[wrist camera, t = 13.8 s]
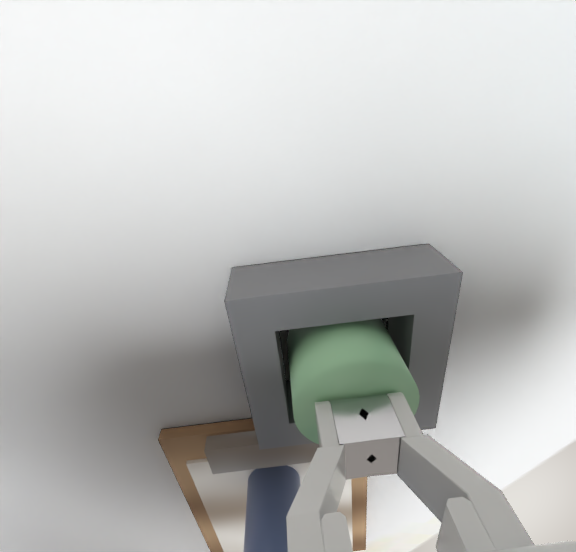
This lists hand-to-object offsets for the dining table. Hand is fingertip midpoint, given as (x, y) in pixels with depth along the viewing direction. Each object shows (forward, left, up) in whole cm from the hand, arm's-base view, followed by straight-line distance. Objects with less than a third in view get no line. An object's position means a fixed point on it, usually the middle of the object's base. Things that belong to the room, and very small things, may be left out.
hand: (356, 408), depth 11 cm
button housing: (0, 0, -4) cm, 4 cm away
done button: (0, 0, -4) cm, 4 cm away
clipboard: (-13, +4, -4) cm, 14 cm away
